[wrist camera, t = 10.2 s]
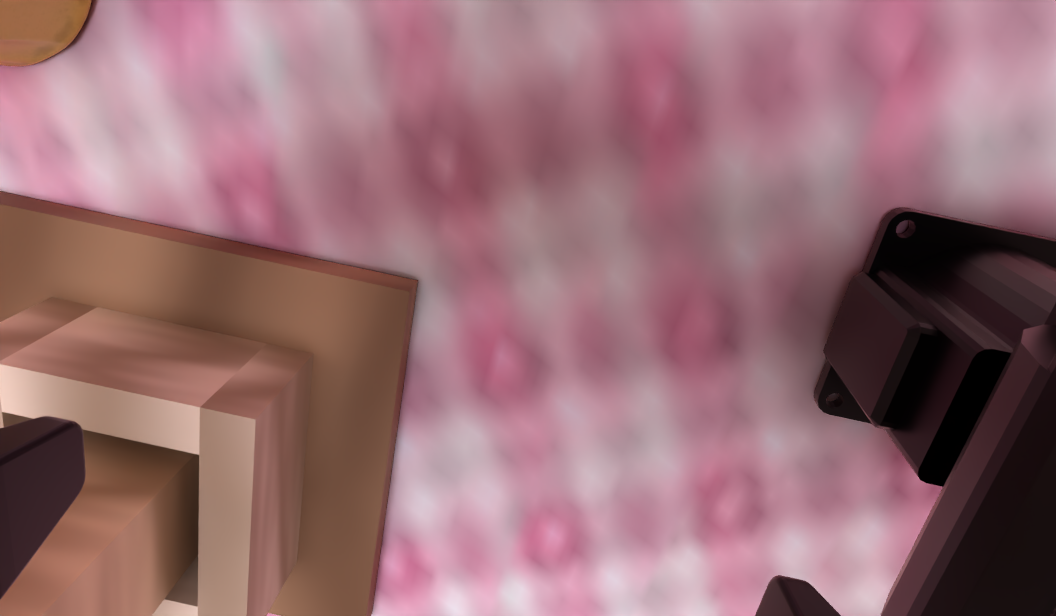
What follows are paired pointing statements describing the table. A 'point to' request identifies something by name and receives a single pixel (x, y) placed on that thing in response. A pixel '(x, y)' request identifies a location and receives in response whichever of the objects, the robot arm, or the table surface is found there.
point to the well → (219, 390)
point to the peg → (116, 535)
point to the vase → (38, 28)
